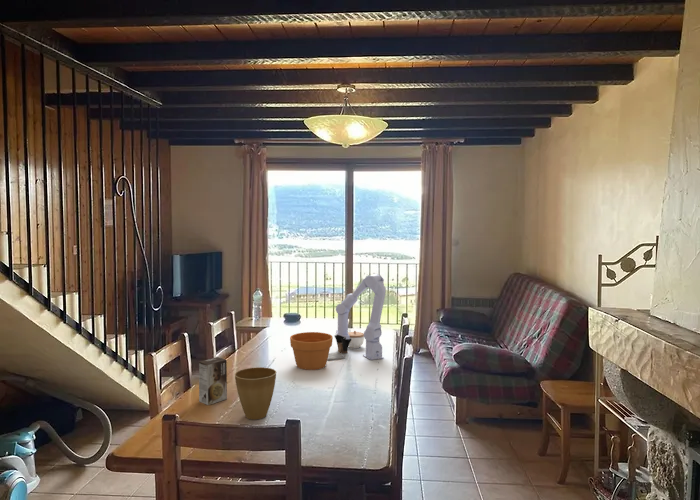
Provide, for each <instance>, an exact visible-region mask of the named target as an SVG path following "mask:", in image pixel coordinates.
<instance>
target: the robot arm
mask: <svg viewBox="0 0 700 500" xmlns="http://www.w3.org/2000/svg"><path fill="white" fill-rule="evenodd" d="M384 280H385V279H384V278H383V277H382V275H381V274H378V273H375V274H370V275H369V274H368V275H367V276H365V278H363V279H362V280H361V282H360V284H359V285H358V286H357V287H356V289H355V290H353V292H352V293H348V294H346V295H345V296H346V297H345V298H344V299H343V300H342V301H341V302H340V303H339V304H337V305H336V307H335V311H336V313H337V330H336V331H335V332H336V333H335V335H334V339H335V342H336V345H337V347H338V343H342V345H343V351H347V352H348V350H349V343H350V341H351V339H350V336H349V334H348V332H349V313H350V311H351V308H352V307H353V306H354V305H356V303H357V302H358V298H359V296H361V294H363V292H364V291H365V290H366V289H368V288H369V289H370V291H372V292H373V293H374V298H373V301H372V308H371V312H370V313H371V314H370V319H369V322H368V324H367V325H366V328H365V331H364V332H363V333H364V340H365V353H364V354H362V356H363V357H364V358H367V359H368V360H371V361H372V360H378V359H379V360H380V359H381V360H382V359H384V357H383V346H382V344H381V342H380V337H382V325H381V318H382V314H383V308H384V304H385V298H386V297H385V296H386V292H387V291H386V287H385V284H384Z"/></svg>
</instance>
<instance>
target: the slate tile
mask: <svg viewBox="0 0 700 500" xmlns="http://www.w3.org/2000/svg"><path fill="white" fill-rule="evenodd" d="M336 360H346V356H345V355H342V353H339V352H331V353H330V352H329V355H328V359H327V361H336Z"/></svg>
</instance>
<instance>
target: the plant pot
mask: <svg viewBox="0 0 700 500" xmlns="http://www.w3.org/2000/svg"><path fill="white" fill-rule="evenodd" d="M234 379H235V385H236V389H237V395H238V399H239V402H240V405H241V407H242V410H243V413H244V416H245V418H246V419H248V420H261V419H263V418H266V417H267V414H268V412H269V409H270V406H271V402H272V399H273V395H274V391H275V386H276V379H277V370H275V369H274V368H271V367H270V368H269V367H259V366H258V367H257V366H256V367H248V368H244V369H243V368H242V369H240V370H238V371H236V372H235V373H234Z"/></svg>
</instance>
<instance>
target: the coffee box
mask: <svg viewBox="0 0 700 500" xmlns="http://www.w3.org/2000/svg"><path fill="white" fill-rule="evenodd" d="M227 363H228V362H227V359H224V358H222V357H220V356H216V357H213V358H208V359H204V360H200V361H198V402H199V403H202V404H204V405H206V406H210V405H213V404H216V403H219V402H221V401H225V400H227V399H228V372H227V370H228V368H227V367H228V366H227Z"/></svg>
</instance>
